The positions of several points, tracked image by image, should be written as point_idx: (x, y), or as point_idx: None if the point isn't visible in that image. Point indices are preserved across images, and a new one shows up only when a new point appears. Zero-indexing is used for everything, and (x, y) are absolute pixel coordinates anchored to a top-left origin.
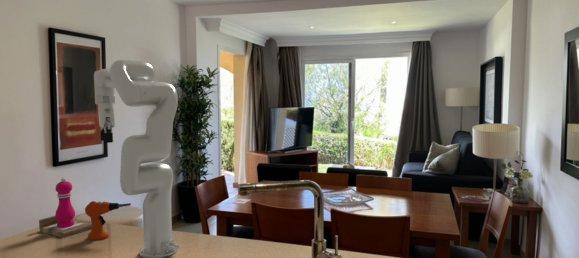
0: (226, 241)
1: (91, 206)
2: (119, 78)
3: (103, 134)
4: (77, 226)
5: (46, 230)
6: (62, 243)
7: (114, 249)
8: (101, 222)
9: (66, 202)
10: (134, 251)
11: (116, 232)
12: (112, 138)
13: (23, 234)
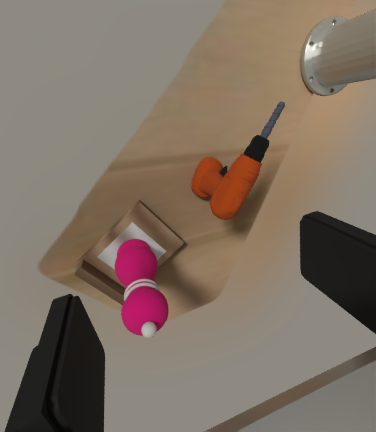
0: None
1: (241, 205)
2: None
3: (94, 403)
4: (146, 229)
5: None
6: (212, 233)
7: (278, 140)
8: (222, 175)
9: (152, 277)
10: (303, 104)
11: (185, 143)
12: (344, 226)
13: None
